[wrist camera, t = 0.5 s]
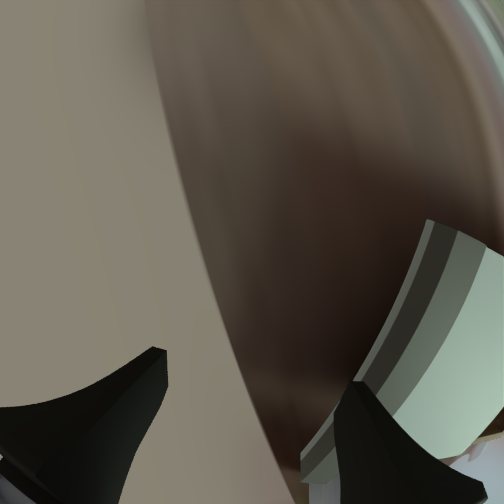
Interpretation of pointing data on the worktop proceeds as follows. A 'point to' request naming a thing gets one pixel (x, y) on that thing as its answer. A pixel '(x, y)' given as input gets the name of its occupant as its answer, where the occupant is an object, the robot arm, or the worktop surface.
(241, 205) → the worktop surface
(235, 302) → the worktop surface
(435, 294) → the lid
